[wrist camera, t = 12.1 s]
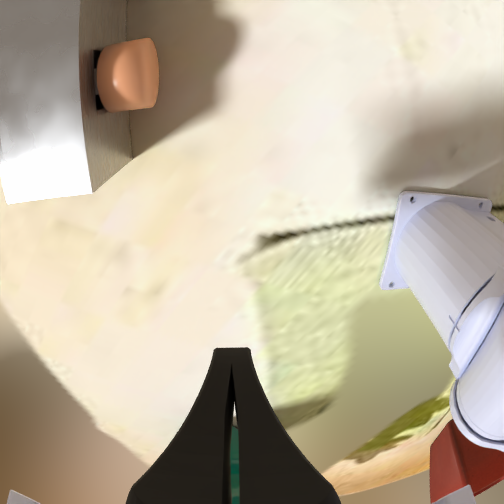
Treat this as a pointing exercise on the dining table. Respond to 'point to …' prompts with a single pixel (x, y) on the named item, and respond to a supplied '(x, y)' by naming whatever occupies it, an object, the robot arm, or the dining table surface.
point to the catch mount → (58, 98)
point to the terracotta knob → (128, 75)
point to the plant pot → (462, 464)
